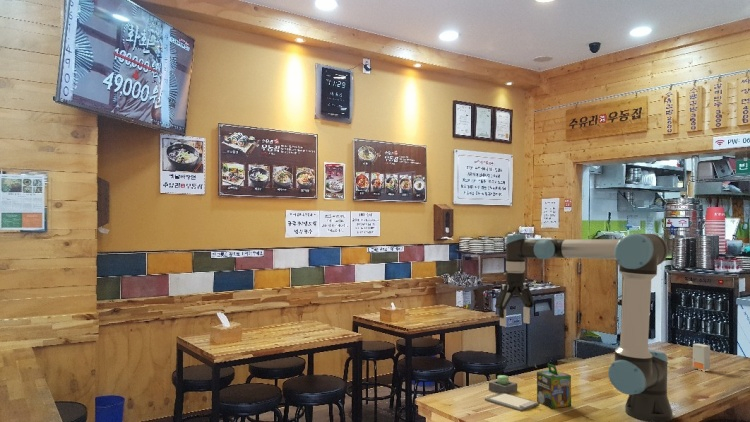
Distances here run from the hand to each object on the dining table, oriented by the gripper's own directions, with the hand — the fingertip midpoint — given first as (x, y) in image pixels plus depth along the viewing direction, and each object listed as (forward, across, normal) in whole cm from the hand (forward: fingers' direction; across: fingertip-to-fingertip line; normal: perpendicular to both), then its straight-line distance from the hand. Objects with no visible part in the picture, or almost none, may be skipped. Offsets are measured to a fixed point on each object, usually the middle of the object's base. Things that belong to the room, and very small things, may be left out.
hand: (514, 324), depth 224 cm
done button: (+24, +4, -2) cm, 24 cm away
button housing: (+26, +4, -2) cm, 27 cm away
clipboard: (+27, +12, +10) cm, 31 cm away
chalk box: (+27, 0, +19) cm, 33 cm away
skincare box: (+27, -103, +21) cm, 109 cm away
